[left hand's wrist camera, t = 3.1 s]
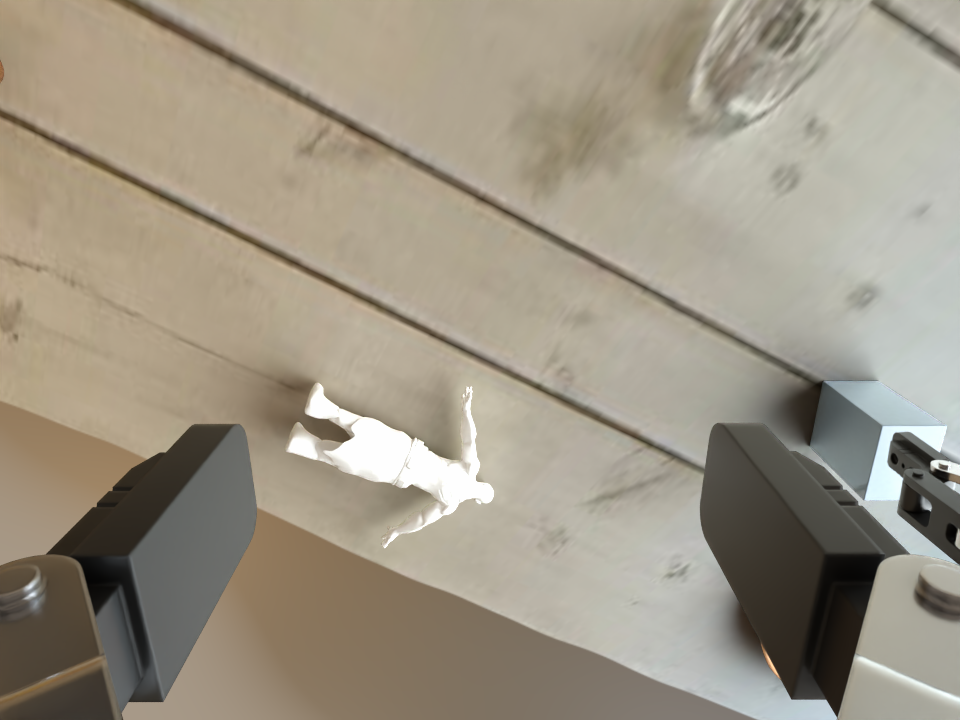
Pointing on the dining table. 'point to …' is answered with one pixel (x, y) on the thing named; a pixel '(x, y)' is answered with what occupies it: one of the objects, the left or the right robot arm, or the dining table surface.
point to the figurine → (395, 459)
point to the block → (868, 434)
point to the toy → (1, 72)
